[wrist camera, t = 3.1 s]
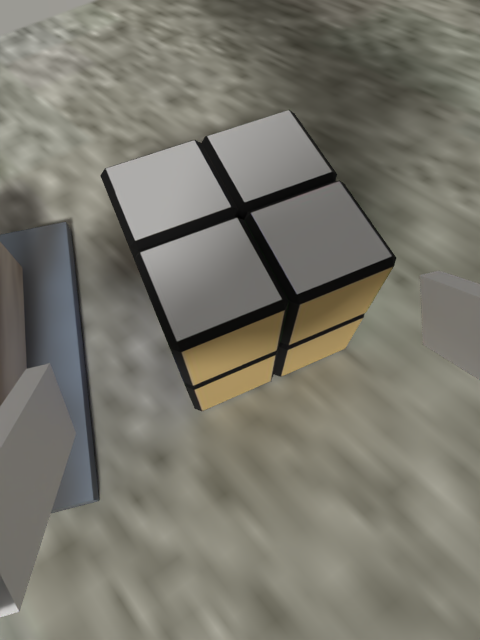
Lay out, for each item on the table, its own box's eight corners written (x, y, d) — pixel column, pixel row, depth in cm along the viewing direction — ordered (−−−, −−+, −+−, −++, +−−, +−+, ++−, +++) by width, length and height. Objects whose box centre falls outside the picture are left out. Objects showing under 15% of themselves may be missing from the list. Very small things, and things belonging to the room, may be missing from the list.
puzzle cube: (141, 278, 29) (95, 165, 20) (276, 227, 31) (291, 103, 22) (197, 415, 25) (172, 353, 16) (348, 348, 27) (403, 258, 18)
